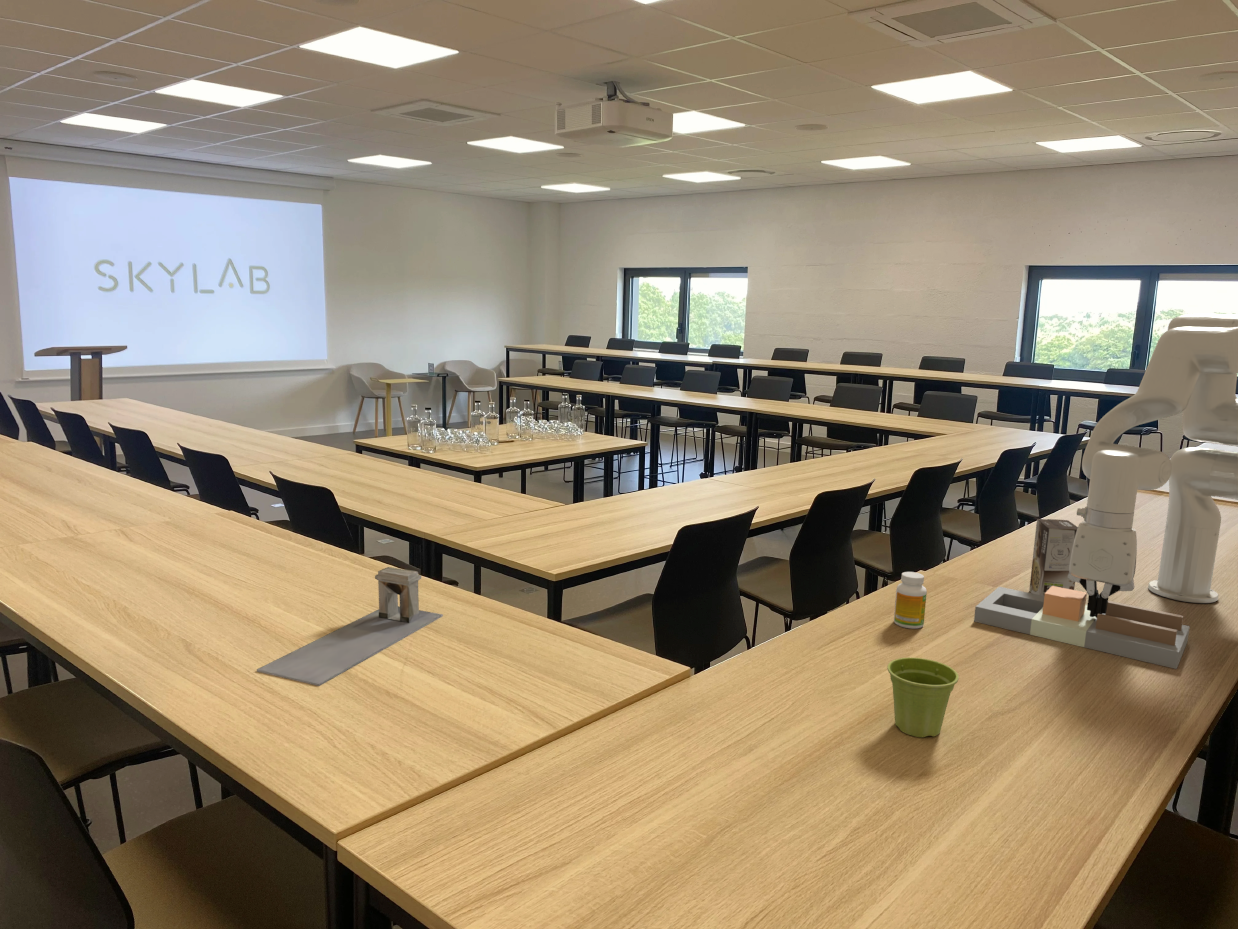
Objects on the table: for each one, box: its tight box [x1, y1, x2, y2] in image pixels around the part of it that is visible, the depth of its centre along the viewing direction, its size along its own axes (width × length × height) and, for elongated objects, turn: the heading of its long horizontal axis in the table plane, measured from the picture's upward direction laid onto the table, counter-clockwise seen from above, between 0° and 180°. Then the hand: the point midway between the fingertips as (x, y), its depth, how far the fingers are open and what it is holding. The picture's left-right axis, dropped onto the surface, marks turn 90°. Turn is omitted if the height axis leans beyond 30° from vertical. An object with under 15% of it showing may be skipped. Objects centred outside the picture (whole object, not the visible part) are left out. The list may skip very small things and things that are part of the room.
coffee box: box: [1028, 518, 1078, 596], centre depth 178 cm, size 9×6×16 cm
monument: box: [256, 566, 444, 687], centre depth 147 cm, size 12×33×10 cm, turn 158°
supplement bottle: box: [893, 571, 928, 630], centre depth 161 cm, size 5×5×10 cm
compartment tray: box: [973, 586, 1191, 670], centre depth 160 cm, size 16×33×6 cm, turn 51°
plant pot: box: [886, 656, 960, 738], centre depth 121 cm, size 9×9×9 cm
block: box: [1042, 586, 1088, 621], centre depth 161 cm, size 6×6×4 cm
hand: (1096, 615), depth 158 cm, fingers closed
